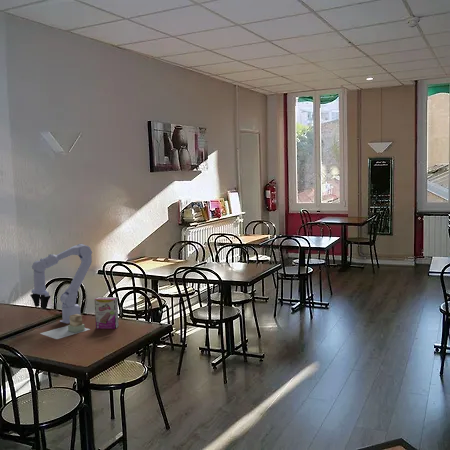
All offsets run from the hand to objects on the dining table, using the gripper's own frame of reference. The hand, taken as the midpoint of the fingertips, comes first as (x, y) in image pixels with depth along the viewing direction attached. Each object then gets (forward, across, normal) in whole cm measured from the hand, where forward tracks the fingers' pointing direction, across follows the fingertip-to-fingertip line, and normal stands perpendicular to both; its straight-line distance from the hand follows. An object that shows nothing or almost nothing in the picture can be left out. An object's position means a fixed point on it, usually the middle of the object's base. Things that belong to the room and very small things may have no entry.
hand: (40, 307), depth 285 cm
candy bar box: (+10, +32, +20) cm, 39 cm away
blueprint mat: (+10, +20, +2) cm, 22 cm away
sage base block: (+10, +23, +6) cm, 26 cm away
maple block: (+7, +23, +6) cm, 25 cm away
